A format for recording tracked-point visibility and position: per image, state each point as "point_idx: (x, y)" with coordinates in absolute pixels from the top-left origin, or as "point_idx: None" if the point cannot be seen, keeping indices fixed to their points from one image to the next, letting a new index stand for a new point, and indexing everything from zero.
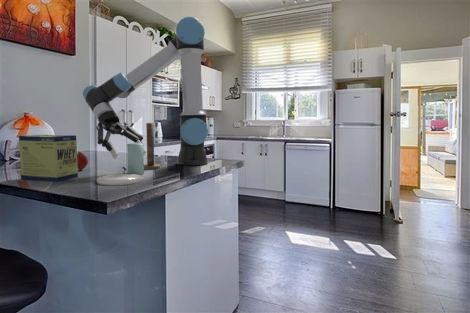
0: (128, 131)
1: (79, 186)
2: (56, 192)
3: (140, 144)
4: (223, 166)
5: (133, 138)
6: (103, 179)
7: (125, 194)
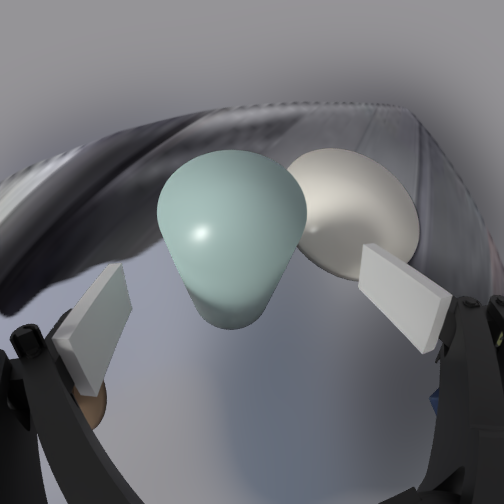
0: (73, 491)
1: (448, 229)
2: (475, 210)
3: (226, 151)
4: None
5: (76, 409)
6: (405, 214)
7: (379, 112)
